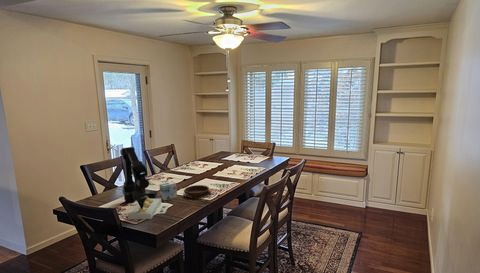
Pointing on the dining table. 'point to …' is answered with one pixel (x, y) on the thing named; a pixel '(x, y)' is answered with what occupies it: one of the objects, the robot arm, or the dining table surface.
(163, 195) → the light bulb box
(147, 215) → the board
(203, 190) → the dish
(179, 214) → the dining table surface
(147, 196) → the robot arm
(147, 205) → the button
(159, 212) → the card
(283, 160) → the dining table surface
